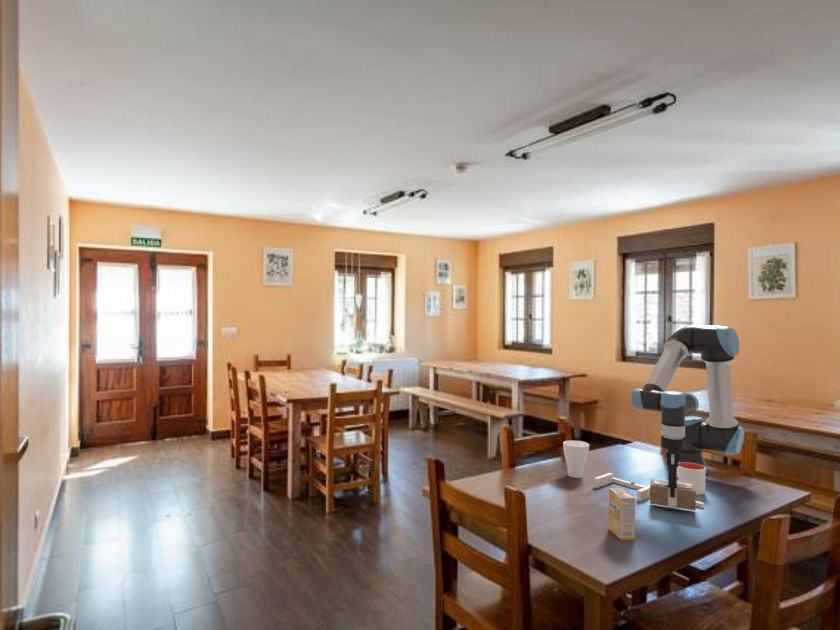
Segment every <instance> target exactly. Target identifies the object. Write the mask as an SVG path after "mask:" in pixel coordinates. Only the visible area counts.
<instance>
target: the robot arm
mask: <svg viewBox="0 0 840 630" xmlns="http://www.w3.org/2000/svg"><path fill="white" fill-rule="evenodd" d="M739 352H740V339H739V335H738V333H737V331H736V329H734V328H733V327H731V326H728V325H727V326H724V325H698V324H697V325H696V324H692V325H687V326H684V327H682V328H680V329H678V330H676V331H675V332H673V333H672V334H671V335H670V336H669V337H668V338H667V339H666V340H665V343H664V344H663V352H662V353H661V355H660V357H659V358H658V360H657V362H656V364H655V366H654V368H653V369H652V372H651V373H650V375H649V376H648V379H647V380H646V382H645V384H644V385H643V387H642V388H635V389H633V390H632V392H631V396H630V402H631V406H632V407H633V408H636V409H640V410H643V411H645V410H646V411H651V412H660V425H659V426H658V429H660V434H661V436H660V447H661V448H663V449H665V450H667V451H666V454H665V455H666V465H667V470H668V472H667V474H668V476H667V478H668V479H667V481H669V484H668V485H666V487H668V506H667V507H669V506H673V507H672V508H675V507H677V480H678V477H677V467H678V463H679V462H689V463H695V464H699V465H702V466H704V467H705V468H706V474H707V473H708V472H707V469H708V468H707V464H706V461H705V459H704V455H703V450H704V451H710V452H714V453H715V452H716V453H721V454H724V455H732V456H735V455H738V454H739V453H740V451H741V450H742V447H743V443H744V440H745V429H744V427H741V426H739V422H738V420H737V419H736V418H735V417H734V405H733V389H732V387H733V385H732V373H731V372H732V371H731V362H733V361H734V360H735V357H737V356H738V354H739ZM689 354H697V355H700V359H701V361H703V363H705V368H706V369H705V370H706V384H707V385H706V386H707V399H708V400H707V401H708V402H707V403H708V413H709V414H708V415H709V417H707V418H706V419H705V420H704V418H703V417H700V416H689V415H692V414H694V413H695V412H697V410H698V409H699V405H700V404H699V403H700V402H699V399H698V398H697V397H696V395H694V394H692V393H689V392H681V391H676V390H668V391H667V389H668V387H669V385H670V383H671V381H672V380H673V378H674V376H675V374H676V373H677V370H678V369H679V367H680V364H681V362H682V361H683V360H684V359H686V358H687V357H688V355H689Z"/></svg>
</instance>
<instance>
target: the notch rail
mask: <svg viewBox="0 0 840 630" xmlns="http://www.w3.org/2000/svg"><path fill="white" fill-rule="evenodd" d="M612 482H613V483H615V484H617V485H620V486H621V485H622V486H624V487H627V488H631V489H634V490H636V501H639V502H642V501H645V500H648V499H650V485H647V486H645V485H641V484H638V483H636V482H634V481H631V482H630V481H628V480H623V479H620V478H616V477H614V473H612V472H608V473H606V474H602V475H599V476H596V477H594V481H593V487H594V488H596V489H598V488H601V486H602V487H604V486H606V485H609V484H612ZM696 507H697V508H699V509H700V508H701V509H704V508H705V503H704V502H702V501H698V500H696Z"/></svg>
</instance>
